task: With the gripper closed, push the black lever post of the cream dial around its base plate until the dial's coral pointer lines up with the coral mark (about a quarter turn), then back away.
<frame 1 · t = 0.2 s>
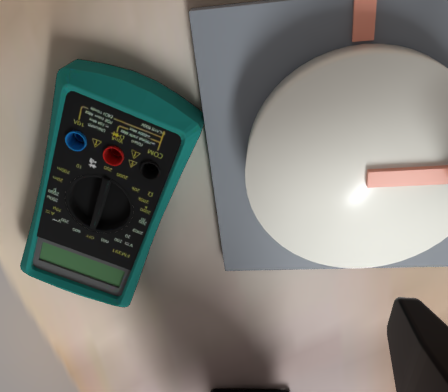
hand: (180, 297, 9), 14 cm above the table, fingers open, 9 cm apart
base plate: (352, 147, 22), on the table
digital multimeter: (113, 186, 25), on the table
dial: (371, 193, 18), point 5 cm above the table, hinge at 0.0°
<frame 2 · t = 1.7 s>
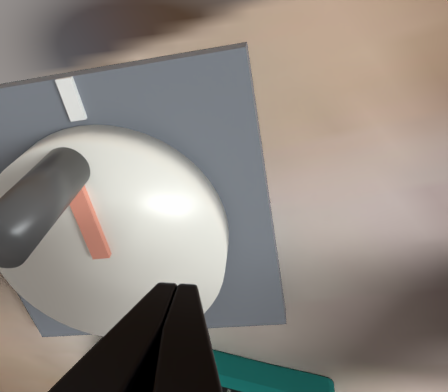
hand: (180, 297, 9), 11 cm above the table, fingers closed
base plate: (125, 215, 21), on the table
digital multimeter: (216, 375, 29), on the table
dial: (92, 278, 17), point 5 cm above the table, hinge at 0.0°
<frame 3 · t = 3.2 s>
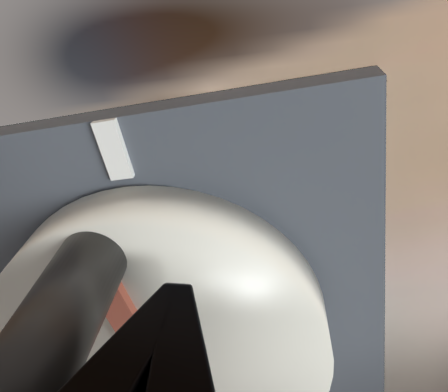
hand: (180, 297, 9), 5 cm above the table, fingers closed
base plate: (175, 294, 16), on the table
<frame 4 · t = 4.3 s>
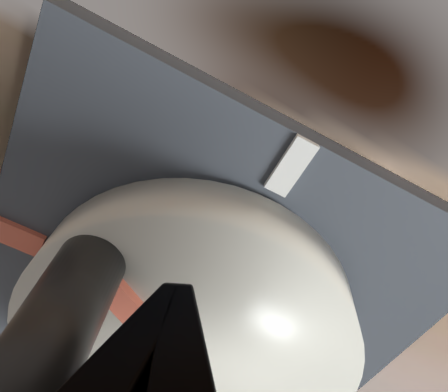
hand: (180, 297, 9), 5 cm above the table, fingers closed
base plate: (197, 289, 16), on the table
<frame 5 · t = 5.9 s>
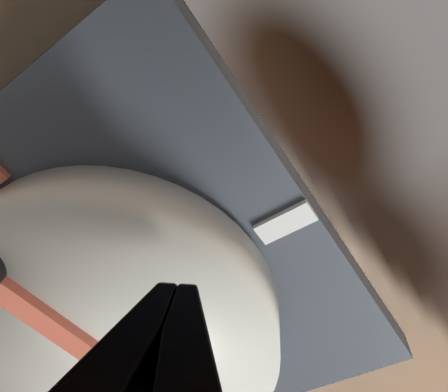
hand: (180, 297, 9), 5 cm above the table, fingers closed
base plate: (131, 280, 16), on the table
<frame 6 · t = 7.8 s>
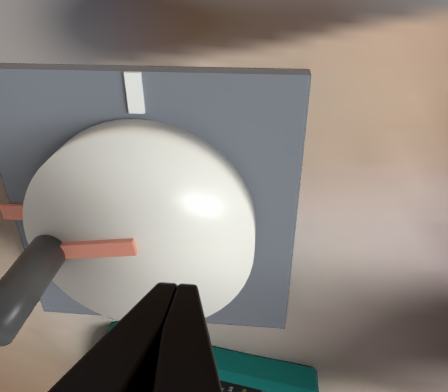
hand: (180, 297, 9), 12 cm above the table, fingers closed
base plate: (154, 207, 22), on the table
digital multimeter: (206, 368, 30), on the table
dial: (128, 265, 18), point 5 cm above the table, hinge at 97.6°
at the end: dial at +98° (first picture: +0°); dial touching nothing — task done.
